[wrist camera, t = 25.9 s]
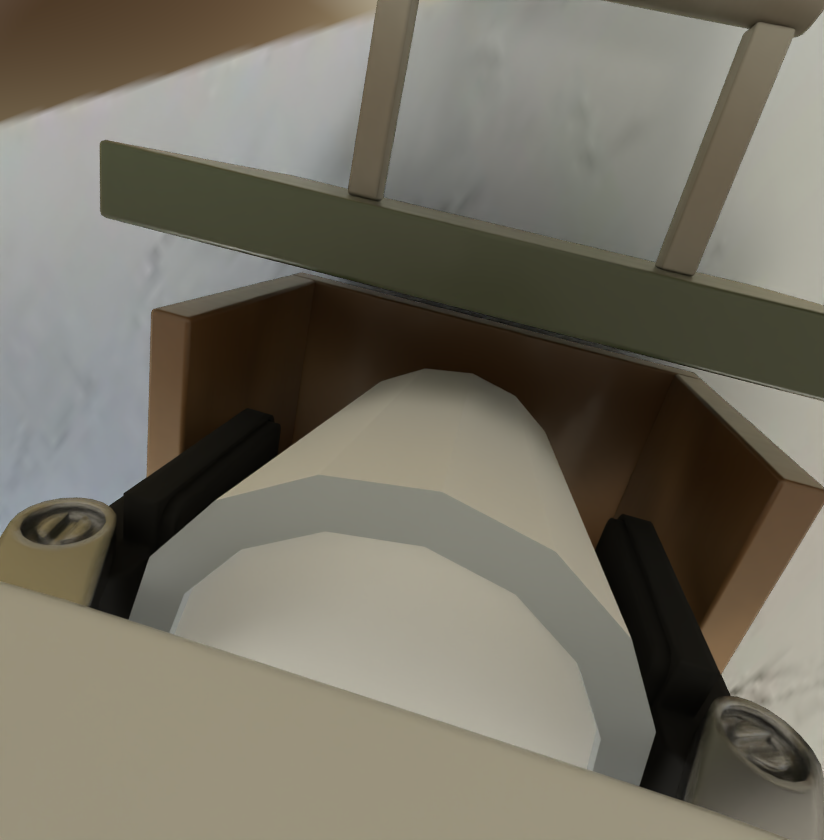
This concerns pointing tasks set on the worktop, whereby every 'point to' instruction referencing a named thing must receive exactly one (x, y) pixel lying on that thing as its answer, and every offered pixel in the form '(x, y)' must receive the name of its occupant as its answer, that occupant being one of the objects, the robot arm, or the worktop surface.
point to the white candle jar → (420, 574)
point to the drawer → (503, 344)
